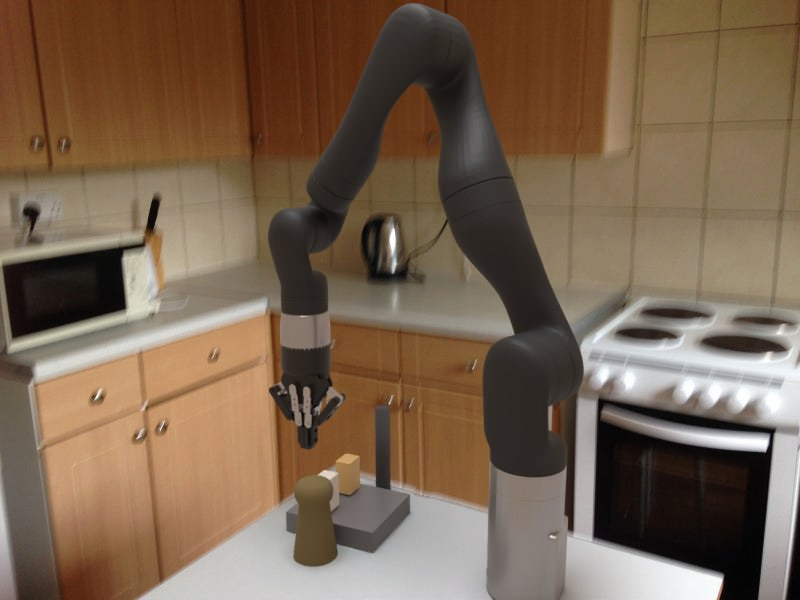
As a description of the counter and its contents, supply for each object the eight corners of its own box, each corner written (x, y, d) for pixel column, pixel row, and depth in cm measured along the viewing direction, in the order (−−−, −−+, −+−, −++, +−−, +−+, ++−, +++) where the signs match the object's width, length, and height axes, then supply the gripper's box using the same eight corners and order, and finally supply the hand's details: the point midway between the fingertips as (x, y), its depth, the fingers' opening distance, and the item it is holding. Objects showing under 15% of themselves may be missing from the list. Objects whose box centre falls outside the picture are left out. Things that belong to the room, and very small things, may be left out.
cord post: (393, 488, 119) (392, 406, 116) (386, 494, 117) (386, 411, 114) (379, 485, 120) (379, 404, 117) (373, 491, 118) (372, 409, 115)
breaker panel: (409, 512, 111) (409, 494, 111) (372, 552, 100) (372, 532, 100) (330, 494, 117) (329, 477, 116) (286, 530, 106) (285, 511, 105)
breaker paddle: (360, 486, 113) (359, 456, 112) (350, 495, 110) (349, 464, 109) (346, 483, 114) (345, 453, 113) (336, 492, 111) (335, 461, 110)
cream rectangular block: (339, 504, 107) (338, 472, 106) (328, 514, 104) (327, 481, 103) (325, 501, 108) (324, 469, 107) (313, 511, 105) (312, 478, 104)
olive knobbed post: (341, 543, 103) (339, 470, 100) (333, 567, 97) (331, 490, 94) (299, 541, 103) (296, 468, 101) (288, 565, 97) (285, 488, 95)
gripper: (356, 339, 111) (356, 446, 114) (282, 329, 116) (285, 431, 120) (331, 351, 104) (332, 464, 108) (254, 340, 109) (258, 448, 113)
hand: (307, 447), depth 114 cm, fingers closed
